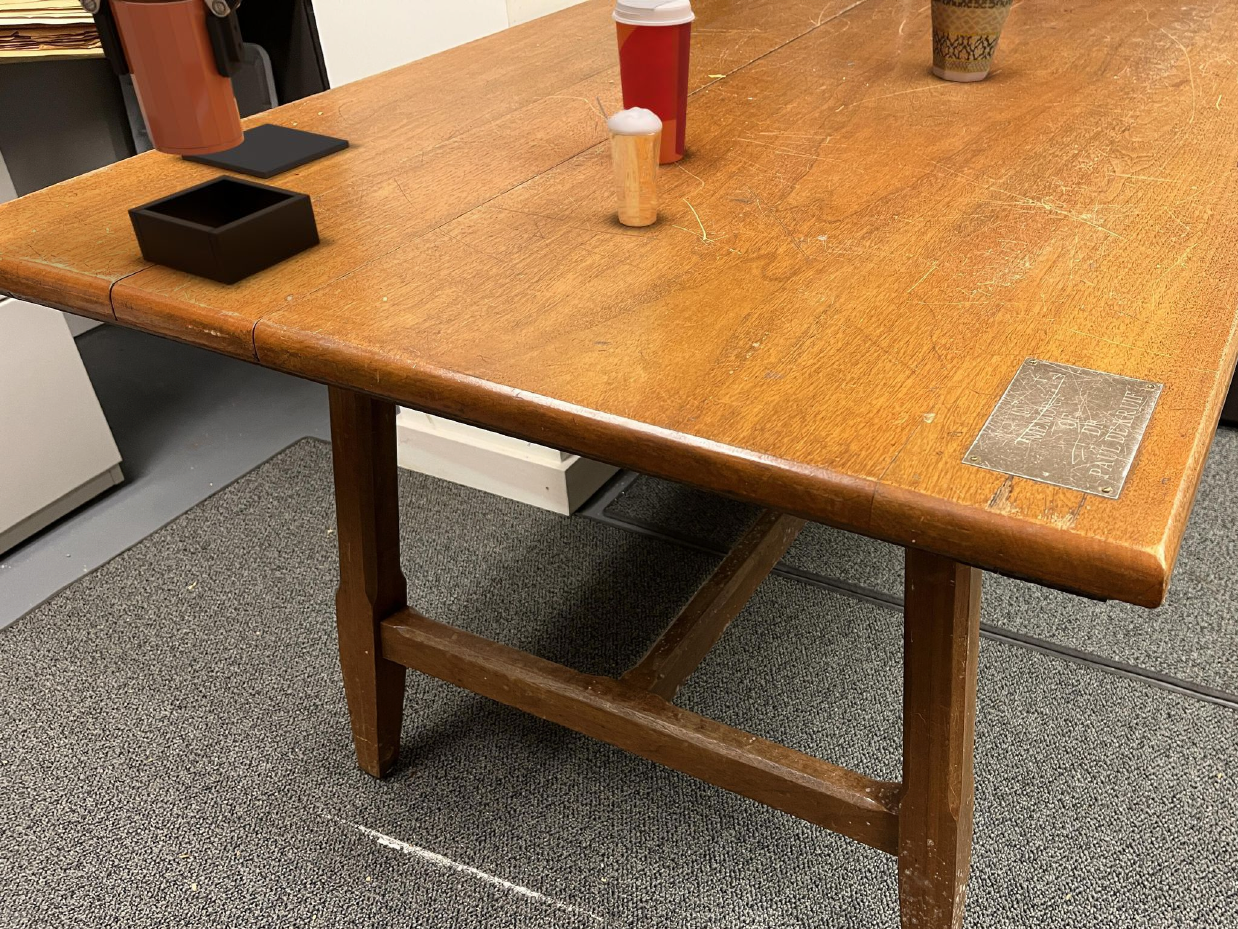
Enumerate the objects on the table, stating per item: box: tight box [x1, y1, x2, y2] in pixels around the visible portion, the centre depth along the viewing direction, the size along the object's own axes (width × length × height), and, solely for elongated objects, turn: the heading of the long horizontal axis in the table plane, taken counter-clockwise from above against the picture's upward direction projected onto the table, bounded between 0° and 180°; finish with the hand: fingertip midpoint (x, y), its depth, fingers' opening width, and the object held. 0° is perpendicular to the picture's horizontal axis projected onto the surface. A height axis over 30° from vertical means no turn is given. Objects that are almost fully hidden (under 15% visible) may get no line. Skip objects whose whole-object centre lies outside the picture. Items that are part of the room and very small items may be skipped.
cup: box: [109, 0, 244, 156], centre depth 76 cm, size 6×6×10 cm
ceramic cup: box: [930, 0, 1014, 83], centre depth 131 cm, size 13×10×10 cm
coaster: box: [180, 122, 350, 179], centre depth 104 cm, size 11×11×1 cm
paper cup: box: [611, 0, 696, 165], centre depth 101 cm, size 8×8×14 cm
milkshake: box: [595, 96, 662, 228], centre depth 89 cm, size 5×5×10 cm
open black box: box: [127, 174, 321, 286], centre depth 84 cm, size 9×9×4 cm
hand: (179, 69), depth 76 cm, fingers closed on cup, 6 cm apart
